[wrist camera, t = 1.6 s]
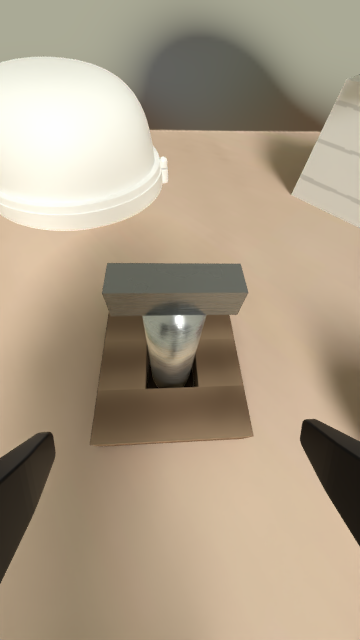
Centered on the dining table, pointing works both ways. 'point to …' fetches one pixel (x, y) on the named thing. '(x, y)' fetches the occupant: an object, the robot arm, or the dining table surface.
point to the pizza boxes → (336, 160)
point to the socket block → (169, 390)
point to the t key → (173, 308)
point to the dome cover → (73, 146)
